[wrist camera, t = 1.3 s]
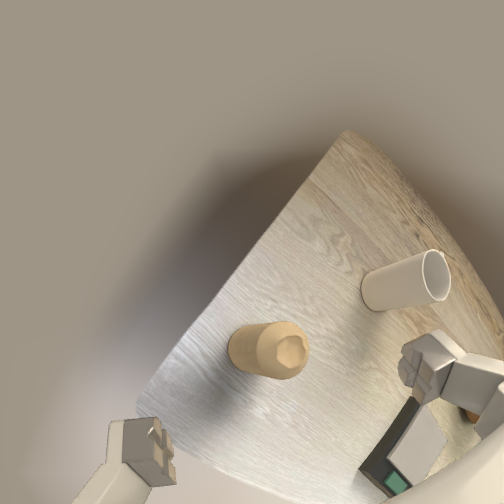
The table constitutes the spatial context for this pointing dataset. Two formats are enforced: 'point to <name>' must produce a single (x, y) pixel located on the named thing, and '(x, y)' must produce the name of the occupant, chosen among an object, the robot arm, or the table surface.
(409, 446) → the scale
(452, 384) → the robot arm
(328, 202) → the table surface
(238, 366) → the candle
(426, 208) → the table surface
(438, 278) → the mug
